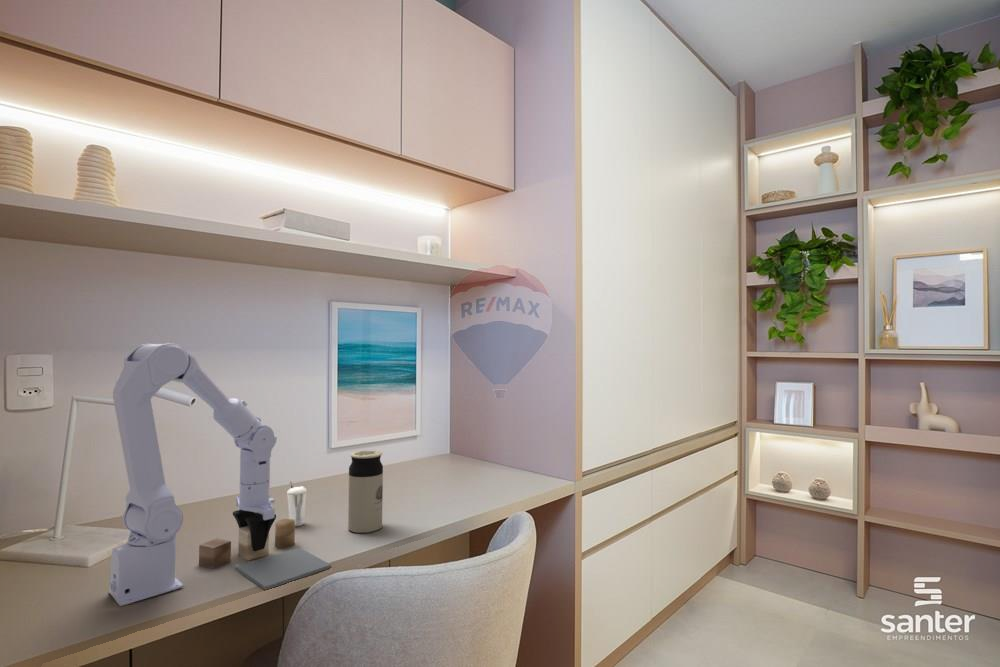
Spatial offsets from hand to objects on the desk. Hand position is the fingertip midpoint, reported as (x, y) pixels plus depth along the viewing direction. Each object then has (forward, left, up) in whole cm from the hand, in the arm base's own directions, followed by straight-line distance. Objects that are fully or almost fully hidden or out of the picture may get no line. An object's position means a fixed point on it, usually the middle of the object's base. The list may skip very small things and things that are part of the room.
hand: (253, 546), depth 109 cm
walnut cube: (-7, +1, -2) cm, 7 cm away
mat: (+1, -12, -2) cm, 12 cm away
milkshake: (+15, +11, -2) cm, 19 cm away
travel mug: (+25, -4, -2) cm, 25 cm away
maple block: (0, 0, -2) cm, 2 cm away
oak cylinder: (+7, 0, -2) cm, 7 cm away
